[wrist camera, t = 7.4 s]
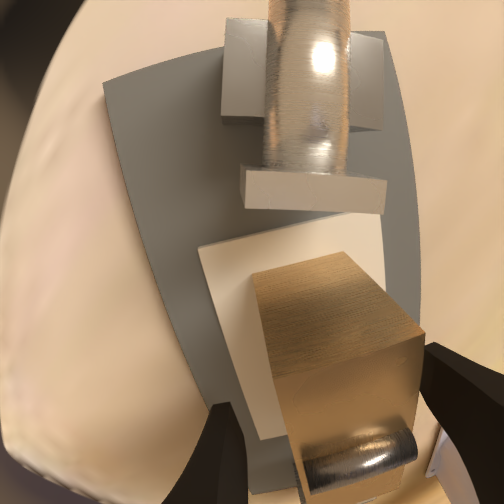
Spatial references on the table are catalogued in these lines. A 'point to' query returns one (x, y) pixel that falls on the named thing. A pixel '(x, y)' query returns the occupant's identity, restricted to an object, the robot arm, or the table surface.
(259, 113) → the shaft
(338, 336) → the block
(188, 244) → the coupling base
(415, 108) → the table surface
